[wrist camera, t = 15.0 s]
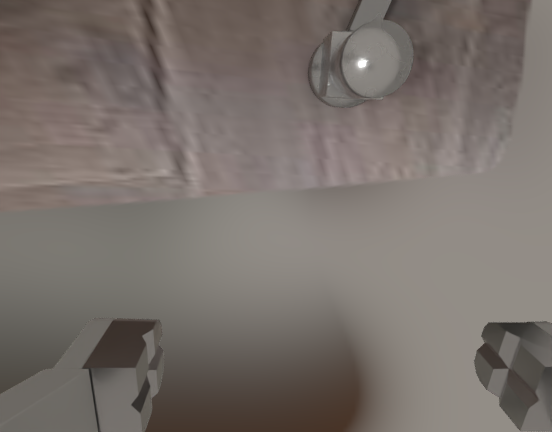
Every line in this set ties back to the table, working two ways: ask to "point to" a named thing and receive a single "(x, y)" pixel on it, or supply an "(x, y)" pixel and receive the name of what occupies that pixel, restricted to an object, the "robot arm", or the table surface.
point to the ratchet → (368, 9)
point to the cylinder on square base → (365, 61)
